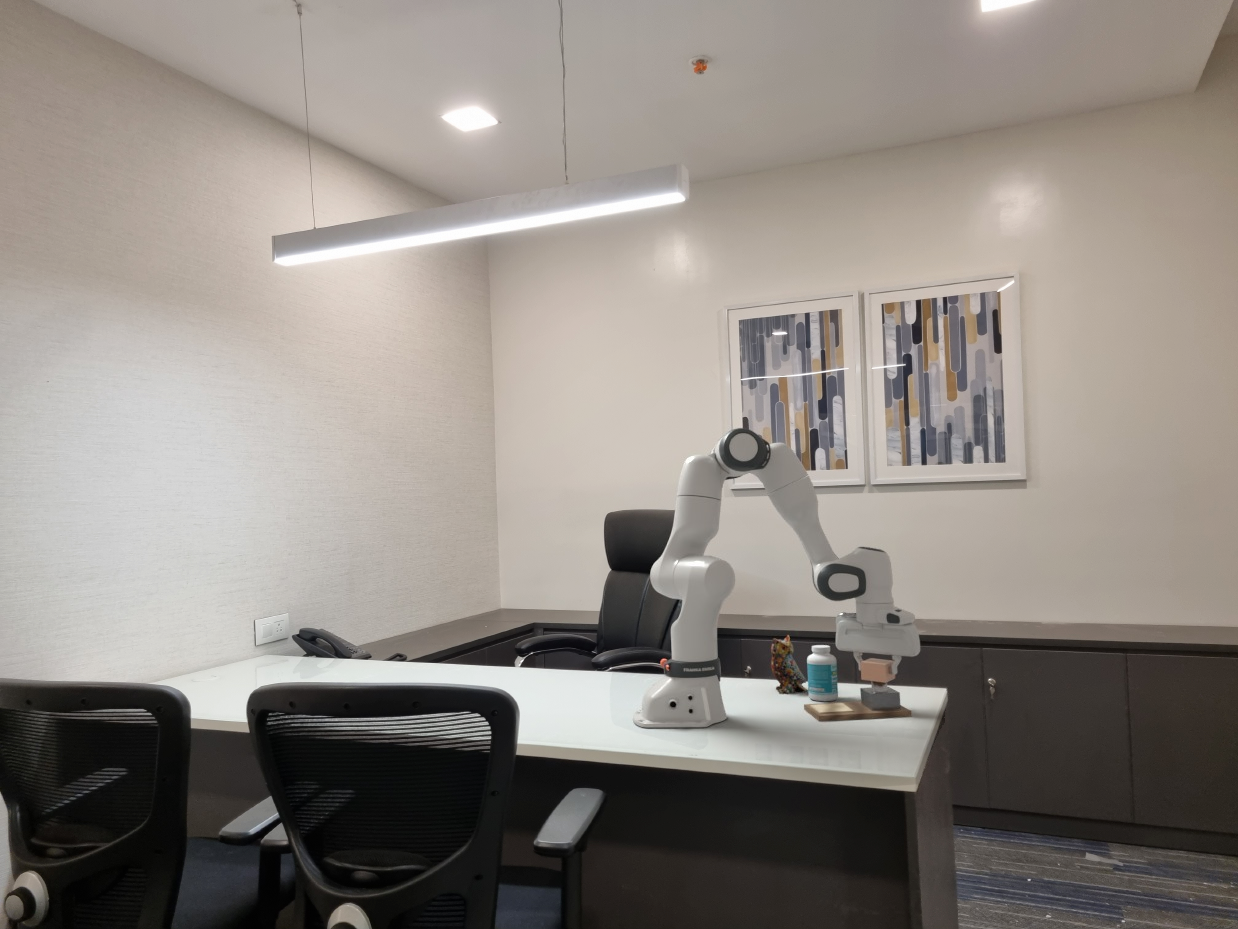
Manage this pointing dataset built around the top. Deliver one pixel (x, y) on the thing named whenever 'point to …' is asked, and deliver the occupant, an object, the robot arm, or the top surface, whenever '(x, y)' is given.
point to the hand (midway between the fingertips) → (877, 672)
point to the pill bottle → (822, 674)
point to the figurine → (786, 667)
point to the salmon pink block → (876, 670)
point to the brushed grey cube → (880, 697)
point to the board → (851, 711)
